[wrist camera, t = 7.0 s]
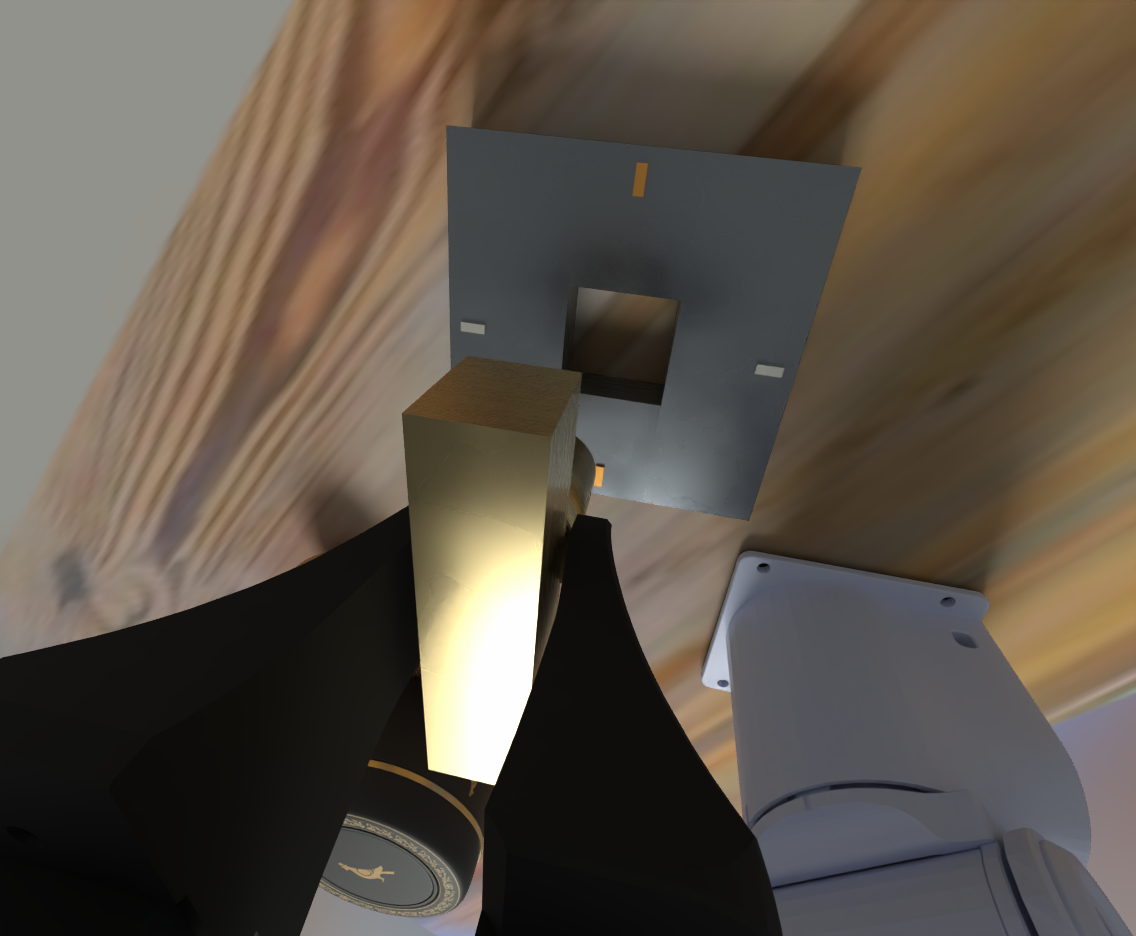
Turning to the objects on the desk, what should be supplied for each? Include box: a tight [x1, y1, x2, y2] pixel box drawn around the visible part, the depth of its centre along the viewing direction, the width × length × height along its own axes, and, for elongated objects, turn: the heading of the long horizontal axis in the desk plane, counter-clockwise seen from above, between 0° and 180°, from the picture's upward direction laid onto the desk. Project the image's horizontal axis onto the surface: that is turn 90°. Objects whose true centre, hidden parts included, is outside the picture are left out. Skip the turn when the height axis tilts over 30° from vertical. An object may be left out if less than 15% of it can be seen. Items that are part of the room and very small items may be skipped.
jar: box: [318, 677, 494, 917], centre depth 29 cm, size 10×10×8 cm
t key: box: [402, 356, 596, 785], centre depth 12 cm, size 8×2×6 cm, turn 176°
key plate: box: [446, 125, 861, 521], centre depth 18 cm, size 11×11×2 cm
